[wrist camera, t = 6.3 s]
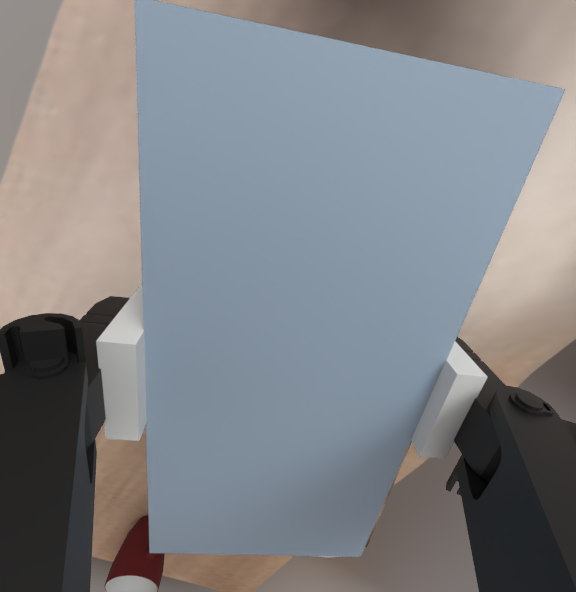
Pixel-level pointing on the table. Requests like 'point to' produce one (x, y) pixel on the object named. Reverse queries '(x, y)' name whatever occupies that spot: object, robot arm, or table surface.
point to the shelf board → (305, 267)
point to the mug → (136, 563)
